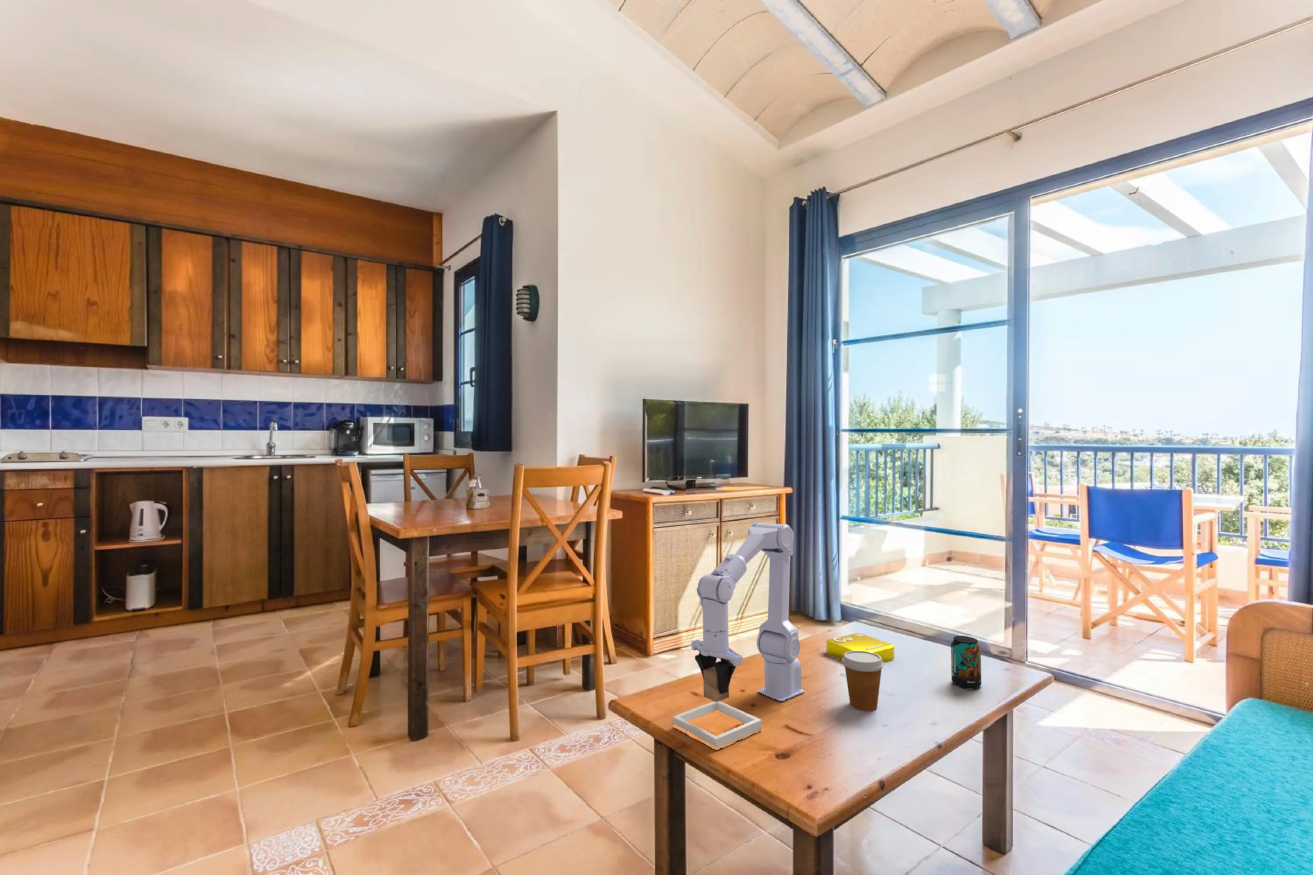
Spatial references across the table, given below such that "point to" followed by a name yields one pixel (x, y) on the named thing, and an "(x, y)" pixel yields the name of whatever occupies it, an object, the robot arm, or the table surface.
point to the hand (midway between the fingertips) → (716, 689)
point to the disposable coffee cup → (863, 678)
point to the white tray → (748, 728)
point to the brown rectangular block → (712, 685)
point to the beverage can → (966, 662)
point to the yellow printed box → (859, 646)
